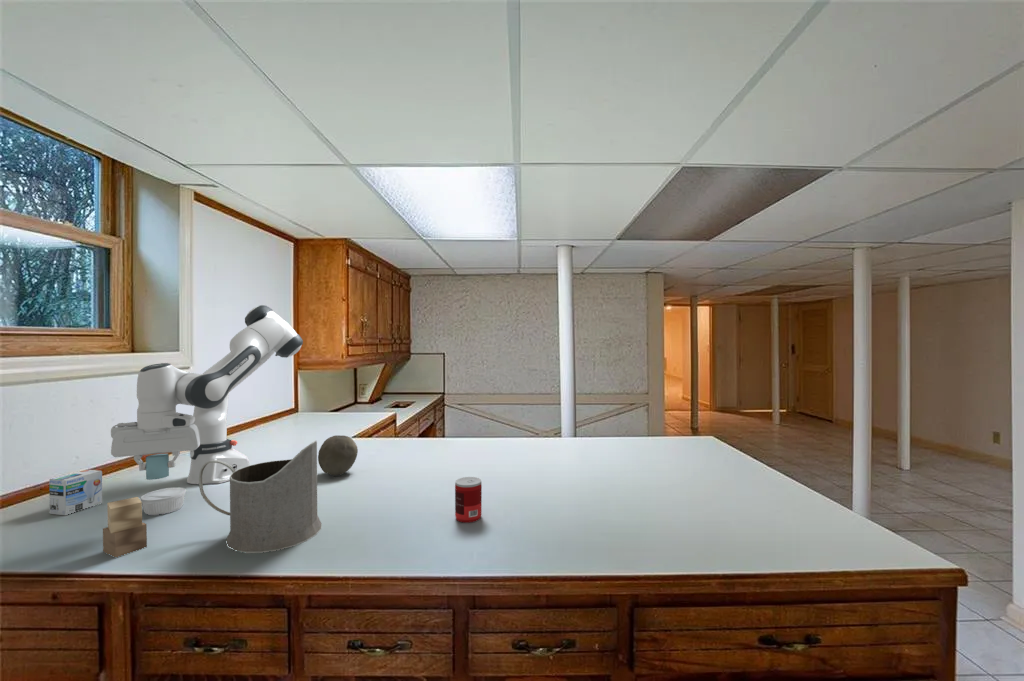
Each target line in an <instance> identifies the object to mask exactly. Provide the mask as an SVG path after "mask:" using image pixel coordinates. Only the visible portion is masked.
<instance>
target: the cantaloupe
mask: <svg viewBox="0 0 1024 681" xmlns="http://www.w3.org/2000/svg"><path fill="white" fill-rule="evenodd" d="M358 450H359V449H358V446H357V444H356V442H355V441H354V439H352V438H351V437H350V436H347V435H332V436H330V437H328V438H327V439H325V440H324V441H323V443H322V444H321V446H320V448H319V449H318V453H317V463H318V466H319V467H320V469H321V471H323V473H325V474H327V475H331V476H333V477H338V476H341V475H344V474H345V473H347V472H348V471H349V470H350V469H351V468H352V466H353V465H354V464H355V462H356V460H357V456H358Z"/></svg>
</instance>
